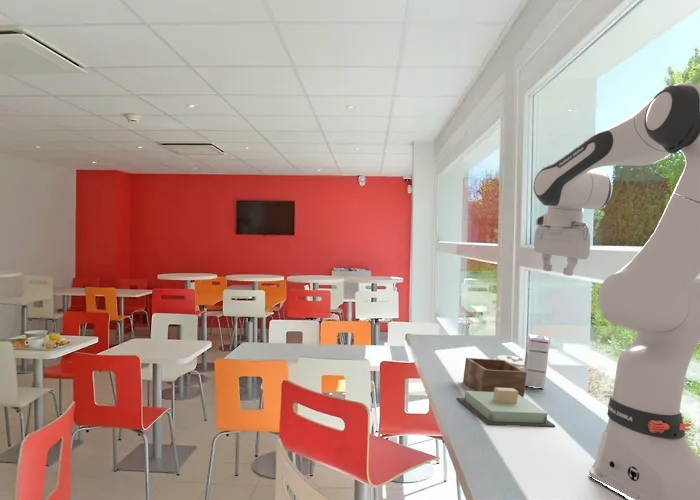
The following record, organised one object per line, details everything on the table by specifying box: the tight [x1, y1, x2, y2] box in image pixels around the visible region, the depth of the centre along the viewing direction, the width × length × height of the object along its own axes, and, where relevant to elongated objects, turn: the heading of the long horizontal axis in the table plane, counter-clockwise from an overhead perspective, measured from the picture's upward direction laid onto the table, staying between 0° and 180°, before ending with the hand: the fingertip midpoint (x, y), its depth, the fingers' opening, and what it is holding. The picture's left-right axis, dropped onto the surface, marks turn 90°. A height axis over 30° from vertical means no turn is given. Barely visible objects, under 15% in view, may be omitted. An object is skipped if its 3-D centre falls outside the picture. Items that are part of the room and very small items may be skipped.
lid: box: [493, 354, 525, 371], centre depth 175 cm, size 13×13×5 cm
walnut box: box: [462, 357, 527, 398], centre depth 153 cm, size 12×12×7 cm
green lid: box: [463, 387, 548, 423], centre depth 134 cm, size 14×14×5 cm
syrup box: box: [524, 333, 550, 389], centre depth 162 cm, size 6×6×14 cm
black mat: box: [456, 397, 556, 428], centre depth 135 cm, size 17×17×1 cm
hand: (557, 273), depth 148 cm, fingers open, 8 cm apart
